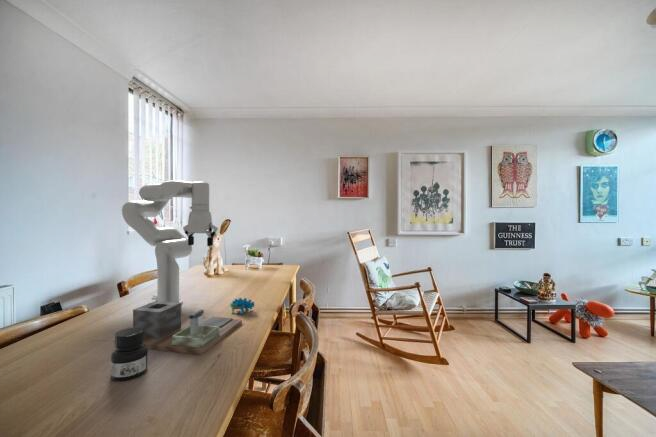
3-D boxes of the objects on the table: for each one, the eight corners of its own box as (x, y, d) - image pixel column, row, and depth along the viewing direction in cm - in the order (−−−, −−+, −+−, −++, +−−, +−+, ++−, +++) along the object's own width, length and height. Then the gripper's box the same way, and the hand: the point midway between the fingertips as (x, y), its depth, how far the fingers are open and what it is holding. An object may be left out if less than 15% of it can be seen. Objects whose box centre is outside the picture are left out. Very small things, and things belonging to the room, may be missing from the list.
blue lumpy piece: (257, 306, 143) (250, 295, 136) (255, 318, 139) (248, 307, 132) (235, 308, 144) (227, 297, 137) (232, 320, 140) (224, 310, 133)
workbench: (114, 345, 104) (114, 313, 104) (171, 317, 132) (171, 292, 131) (201, 355, 98) (201, 321, 98) (241, 323, 126) (242, 297, 125)
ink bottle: (104, 384, 81) (104, 340, 81) (113, 368, 89) (113, 328, 89) (147, 377, 85) (146, 335, 84) (151, 362, 93) (151, 324, 92)
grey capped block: (195, 341, 103) (195, 315, 103) (187, 341, 103) (187, 315, 103) (205, 334, 109) (205, 310, 108) (197, 334, 109) (198, 309, 109)
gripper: (178, 208, 138) (178, 245, 138) (213, 208, 135) (212, 247, 135) (189, 208, 145) (188, 243, 146) (221, 208, 142) (221, 245, 143)
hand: (200, 245), depth 140 cm, fingers open, 9 cm apart
